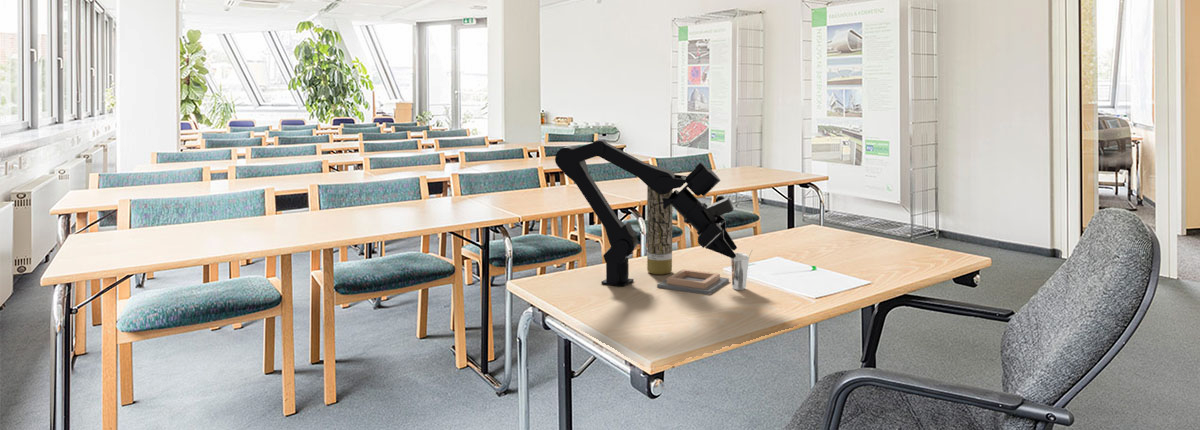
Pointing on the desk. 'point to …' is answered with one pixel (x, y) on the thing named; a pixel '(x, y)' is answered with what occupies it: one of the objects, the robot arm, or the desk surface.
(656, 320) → the desk surface
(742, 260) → the milkshake
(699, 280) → the dock
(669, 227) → the brown tall cylinder
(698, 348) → the desk surface
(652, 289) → the desk surface
